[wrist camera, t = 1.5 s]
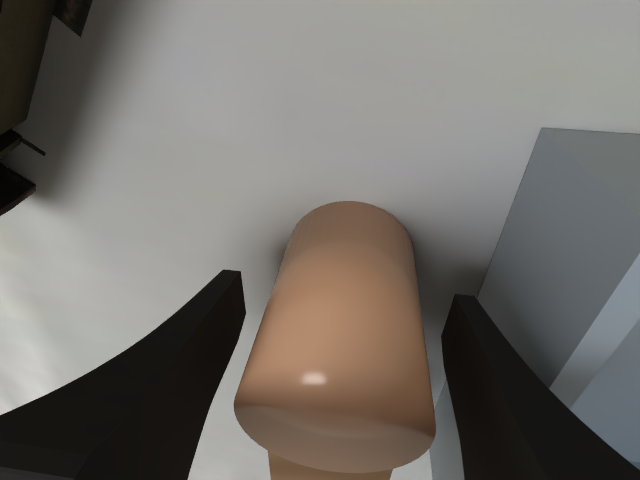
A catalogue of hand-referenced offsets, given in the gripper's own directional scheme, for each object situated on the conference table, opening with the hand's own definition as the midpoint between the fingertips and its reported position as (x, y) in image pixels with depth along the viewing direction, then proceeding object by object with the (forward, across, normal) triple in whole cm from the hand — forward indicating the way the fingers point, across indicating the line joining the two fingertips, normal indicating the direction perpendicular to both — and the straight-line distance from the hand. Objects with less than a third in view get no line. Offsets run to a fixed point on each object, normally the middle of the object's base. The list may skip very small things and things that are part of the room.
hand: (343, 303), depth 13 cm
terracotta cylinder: (+3, 0, 0) cm, 3 cm away
